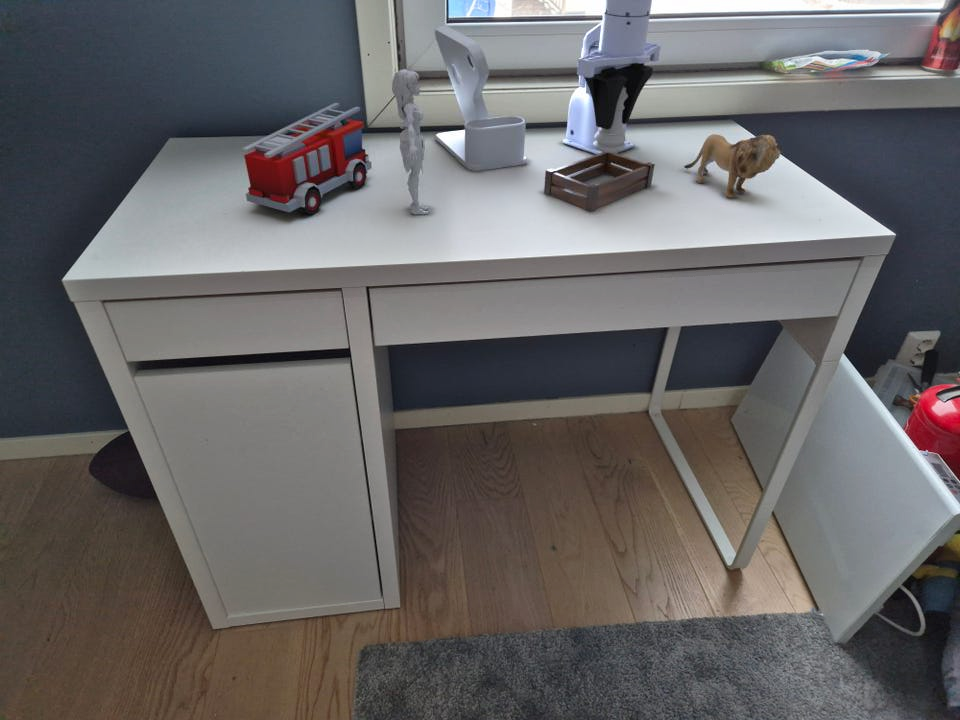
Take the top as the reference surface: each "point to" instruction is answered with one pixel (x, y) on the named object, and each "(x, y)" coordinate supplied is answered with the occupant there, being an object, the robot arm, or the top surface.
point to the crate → (602, 192)
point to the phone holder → (477, 110)
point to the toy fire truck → (307, 161)
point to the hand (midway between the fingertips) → (611, 124)
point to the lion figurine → (737, 159)
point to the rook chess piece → (612, 130)
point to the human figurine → (410, 131)
